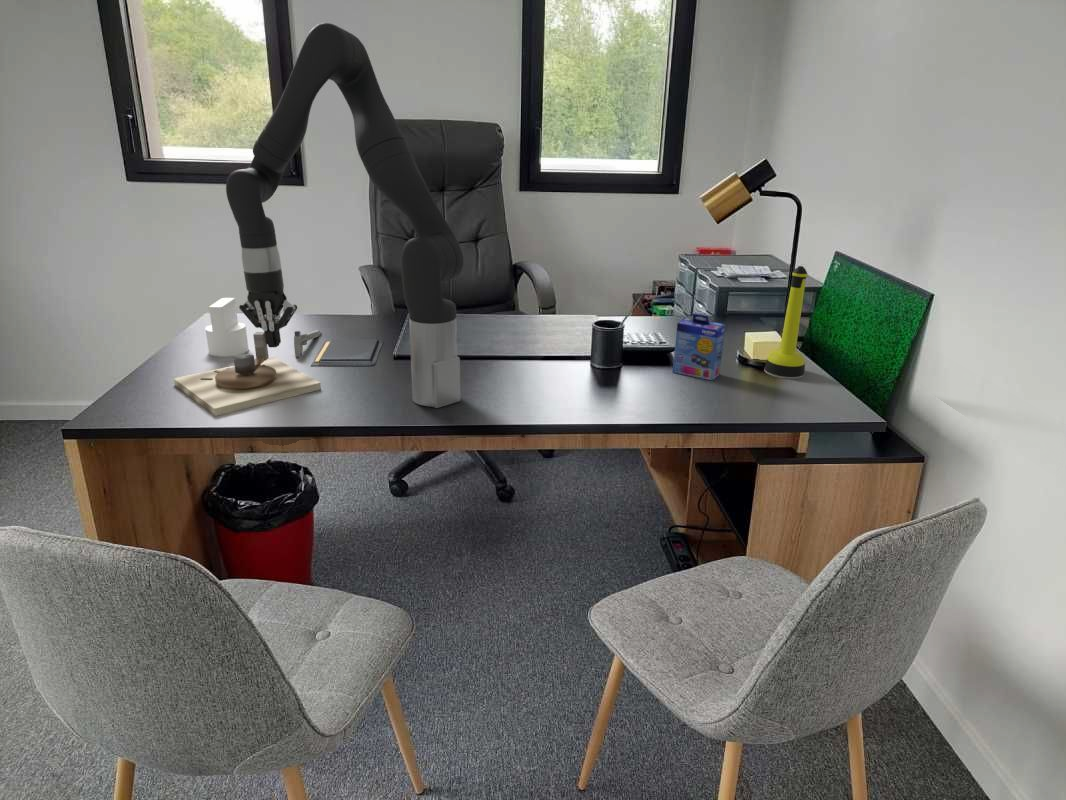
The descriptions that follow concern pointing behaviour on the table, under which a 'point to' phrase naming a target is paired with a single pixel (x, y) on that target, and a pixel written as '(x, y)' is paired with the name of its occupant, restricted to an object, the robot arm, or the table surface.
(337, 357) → the dark grey flat block
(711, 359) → the ink cartridge box
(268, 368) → the dial
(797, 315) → the flashlight
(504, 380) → the table surface
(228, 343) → the cylinder with rectangular tab
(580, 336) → the table surface
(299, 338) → the caliper
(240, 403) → the dial board
